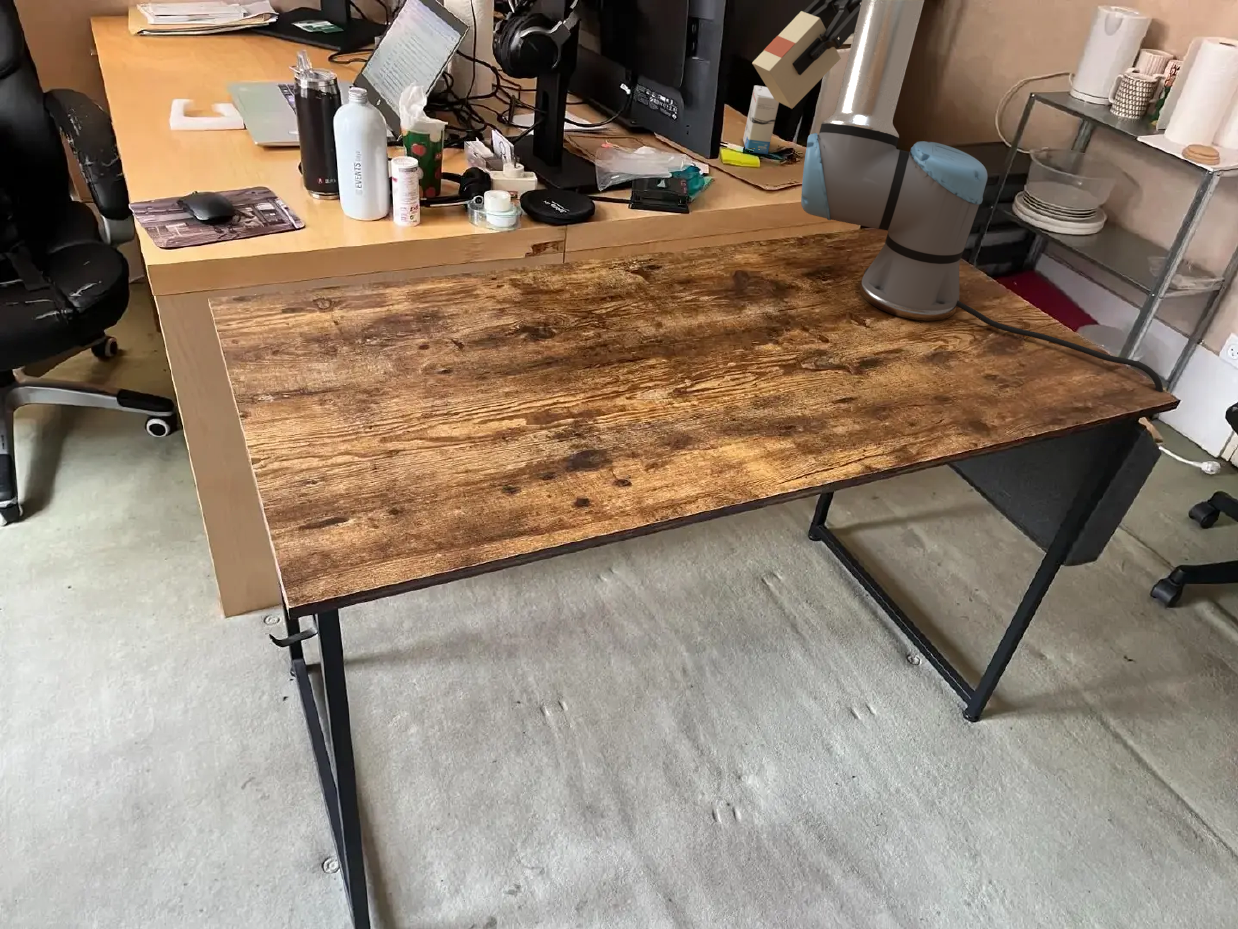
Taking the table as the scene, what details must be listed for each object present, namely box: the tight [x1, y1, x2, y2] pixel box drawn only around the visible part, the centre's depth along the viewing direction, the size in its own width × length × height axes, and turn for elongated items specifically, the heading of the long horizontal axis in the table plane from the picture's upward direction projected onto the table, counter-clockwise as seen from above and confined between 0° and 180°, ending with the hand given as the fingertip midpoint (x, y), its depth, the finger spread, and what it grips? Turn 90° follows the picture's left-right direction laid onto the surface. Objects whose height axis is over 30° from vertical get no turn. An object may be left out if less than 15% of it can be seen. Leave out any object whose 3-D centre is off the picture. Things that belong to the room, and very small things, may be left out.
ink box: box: [742, 84, 780, 155], centre depth 193 cm, size 8×5×12 cm, turn 179°
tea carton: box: [751, 10, 841, 110], centre depth 173 cm, size 13×6×10 cm
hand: (786, 64), depth 173 cm, fingers closed on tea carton, 6 cm apart
